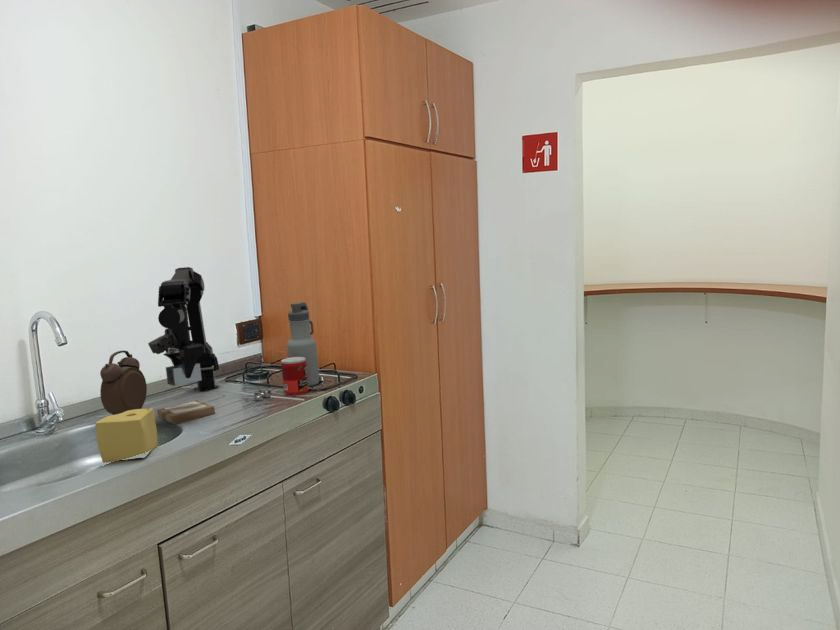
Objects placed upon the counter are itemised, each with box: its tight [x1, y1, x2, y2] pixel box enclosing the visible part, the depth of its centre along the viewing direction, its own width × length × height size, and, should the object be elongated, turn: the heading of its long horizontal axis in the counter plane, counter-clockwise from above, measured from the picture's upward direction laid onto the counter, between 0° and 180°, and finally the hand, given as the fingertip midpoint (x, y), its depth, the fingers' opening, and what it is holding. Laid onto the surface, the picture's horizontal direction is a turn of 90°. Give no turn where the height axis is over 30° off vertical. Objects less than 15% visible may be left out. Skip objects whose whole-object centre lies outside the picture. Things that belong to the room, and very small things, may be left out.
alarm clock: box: [99, 350, 148, 415], centre depth 183 cm, size 15×7×20 cm, turn 171°
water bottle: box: [286, 301, 320, 388], centre depth 209 cm, size 10×10×28 cm
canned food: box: [280, 357, 309, 396], centre depth 200 cm, size 8×8×11 cm
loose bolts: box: [253, 389, 272, 402], centre depth 197 cm, size 6×8×2 cm
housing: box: [165, 363, 202, 387], centre depth 180 cm, size 8×5×5 cm, turn 136°
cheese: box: [95, 407, 158, 463], centre depth 149 cm, size 10×11×10 cm
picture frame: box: [156, 399, 216, 425], centre depth 181 cm, size 12×12×2 cm
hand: (184, 377), depth 180 cm, fingers closed on housing, 5 cm apart
